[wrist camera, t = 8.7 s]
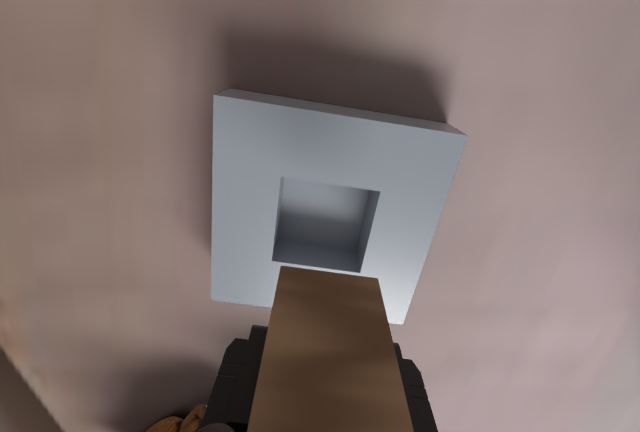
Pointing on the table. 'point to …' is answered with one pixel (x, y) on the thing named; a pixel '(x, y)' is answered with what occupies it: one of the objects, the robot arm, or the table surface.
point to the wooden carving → (181, 422)
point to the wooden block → (328, 358)
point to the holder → (324, 194)
